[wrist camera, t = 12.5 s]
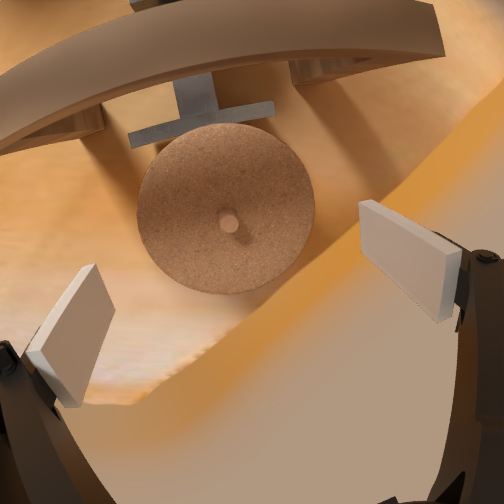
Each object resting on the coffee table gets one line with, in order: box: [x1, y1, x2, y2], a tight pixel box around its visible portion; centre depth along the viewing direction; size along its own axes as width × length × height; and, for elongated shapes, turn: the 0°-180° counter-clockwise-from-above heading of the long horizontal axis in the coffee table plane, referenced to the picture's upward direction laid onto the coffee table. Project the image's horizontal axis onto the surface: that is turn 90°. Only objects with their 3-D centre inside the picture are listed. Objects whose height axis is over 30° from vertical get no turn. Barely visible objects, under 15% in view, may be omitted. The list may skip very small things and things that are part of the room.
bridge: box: [0, 0, 446, 156], centre depth 14 cm, size 2×20×15 cm, turn 101°
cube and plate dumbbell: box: [128, 0, 276, 149], centre depth 16 cm, size 12×9×8 cm
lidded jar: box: [137, 123, 315, 294], centre depth 21 cm, size 11×11×9 cm
